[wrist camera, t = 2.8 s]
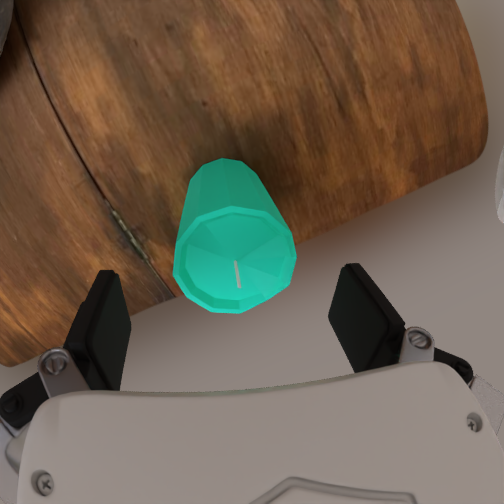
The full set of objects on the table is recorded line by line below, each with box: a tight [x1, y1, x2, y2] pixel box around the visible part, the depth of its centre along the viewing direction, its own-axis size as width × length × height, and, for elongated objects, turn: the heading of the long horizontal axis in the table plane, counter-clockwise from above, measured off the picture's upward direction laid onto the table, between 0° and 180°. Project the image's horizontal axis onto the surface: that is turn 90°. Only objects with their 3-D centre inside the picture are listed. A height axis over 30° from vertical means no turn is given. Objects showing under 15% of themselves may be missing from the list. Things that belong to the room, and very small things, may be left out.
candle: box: [173, 158, 297, 313], centre depth 17 cm, size 6×6×12 cm
